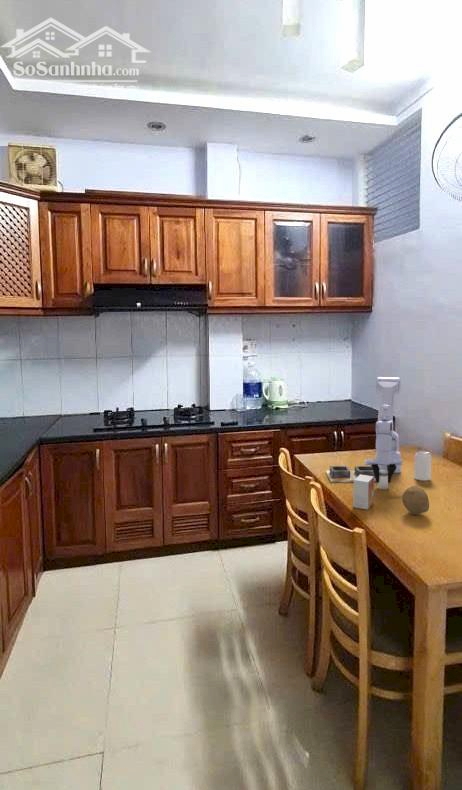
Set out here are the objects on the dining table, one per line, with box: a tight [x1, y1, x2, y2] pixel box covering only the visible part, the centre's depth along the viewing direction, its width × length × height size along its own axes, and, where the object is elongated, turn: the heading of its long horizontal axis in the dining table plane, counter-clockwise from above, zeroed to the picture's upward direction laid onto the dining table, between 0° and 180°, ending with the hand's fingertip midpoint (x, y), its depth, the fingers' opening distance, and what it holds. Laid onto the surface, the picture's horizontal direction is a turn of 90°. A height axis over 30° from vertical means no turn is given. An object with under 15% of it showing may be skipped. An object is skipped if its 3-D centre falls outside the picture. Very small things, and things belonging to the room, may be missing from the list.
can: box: [413, 449, 432, 482], centre depth 203 cm, size 6×6×12 cm
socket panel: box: [325, 465, 377, 483], centre depth 207 cm, size 21×14×4 cm, turn 87°
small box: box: [352, 474, 375, 510], centre depth 174 cm, size 8×6×10 cm
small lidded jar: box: [377, 470, 389, 491], centre depth 192 cm, size 4×4×7 cm
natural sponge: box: [401, 485, 430, 516], centre depth 165 cm, size 9×9×10 cm
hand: (382, 482), depth 193 cm, fingers closed on small lidded jar, 4 cm apart
